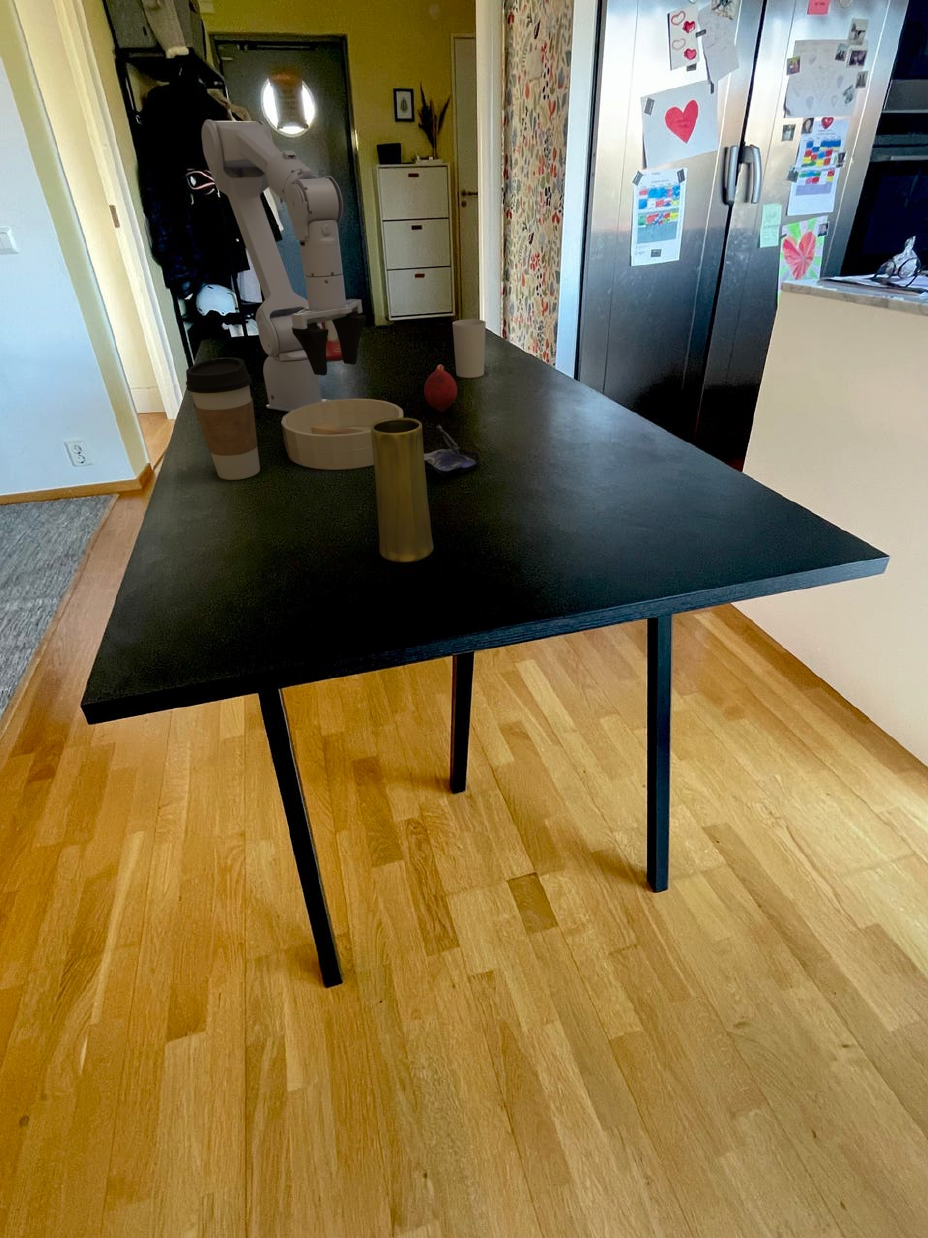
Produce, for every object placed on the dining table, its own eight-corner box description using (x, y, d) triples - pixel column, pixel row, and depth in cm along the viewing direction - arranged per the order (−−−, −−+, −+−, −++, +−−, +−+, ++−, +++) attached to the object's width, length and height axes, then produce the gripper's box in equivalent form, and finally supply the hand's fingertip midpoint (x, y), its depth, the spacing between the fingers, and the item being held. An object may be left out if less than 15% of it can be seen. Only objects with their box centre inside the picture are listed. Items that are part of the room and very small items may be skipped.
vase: (380, 539, 77) (367, 417, 69) (432, 536, 78) (425, 414, 70) (378, 565, 72) (364, 436, 64) (435, 561, 72) (427, 433, 64)
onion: (453, 417, 114) (452, 369, 110) (421, 416, 115) (418, 368, 111) (460, 407, 119) (459, 361, 115) (429, 406, 120) (427, 360, 116)
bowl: (262, 457, 101) (255, 425, 98) (337, 423, 114) (333, 393, 111) (358, 477, 93) (354, 443, 90) (427, 438, 106) (425, 406, 103)
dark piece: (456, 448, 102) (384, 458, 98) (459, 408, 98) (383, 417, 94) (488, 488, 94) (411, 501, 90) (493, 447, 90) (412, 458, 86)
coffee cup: (280, 464, 98) (260, 358, 90) (247, 486, 91) (222, 373, 83) (232, 459, 100) (208, 355, 92) (196, 479, 94) (167, 370, 85)
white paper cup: (486, 377, 136) (485, 325, 130) (453, 378, 136) (452, 326, 130) (486, 369, 141) (485, 318, 135) (454, 370, 141) (453, 319, 136)
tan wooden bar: (312, 440, 105) (310, 426, 103) (321, 436, 106) (319, 422, 105) (374, 452, 100) (373, 437, 98) (383, 447, 101) (381, 433, 100)
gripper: (312, 282, 92) (326, 382, 100) (373, 269, 102) (382, 361, 110) (274, 279, 95) (290, 377, 103) (337, 267, 105) (348, 357, 113)
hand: (335, 368), depth 107 cm, fingers open, 7 cm apart
